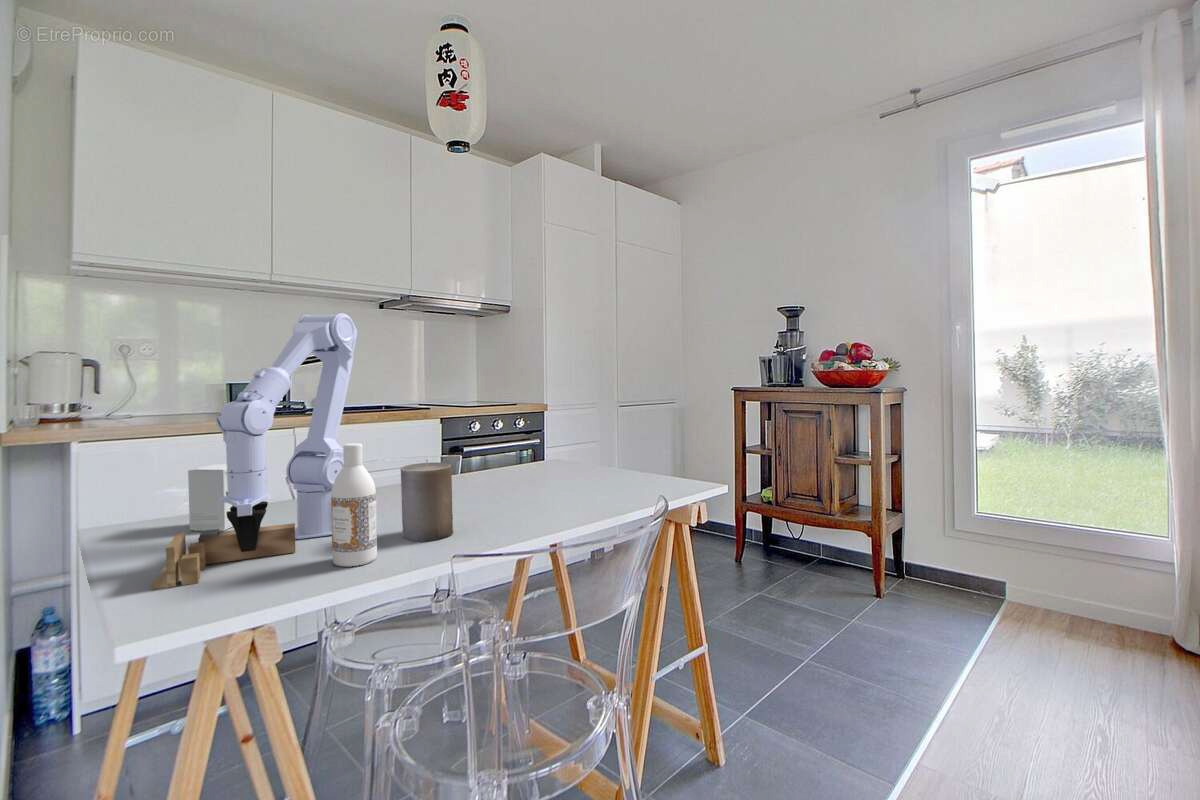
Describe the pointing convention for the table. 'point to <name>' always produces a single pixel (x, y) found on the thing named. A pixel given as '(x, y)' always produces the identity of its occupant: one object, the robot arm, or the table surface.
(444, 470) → the pillar candle
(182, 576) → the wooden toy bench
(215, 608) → the table surface
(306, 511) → the robot arm
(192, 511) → the supplement box
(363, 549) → the bath foam
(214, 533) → the brown wooden block
